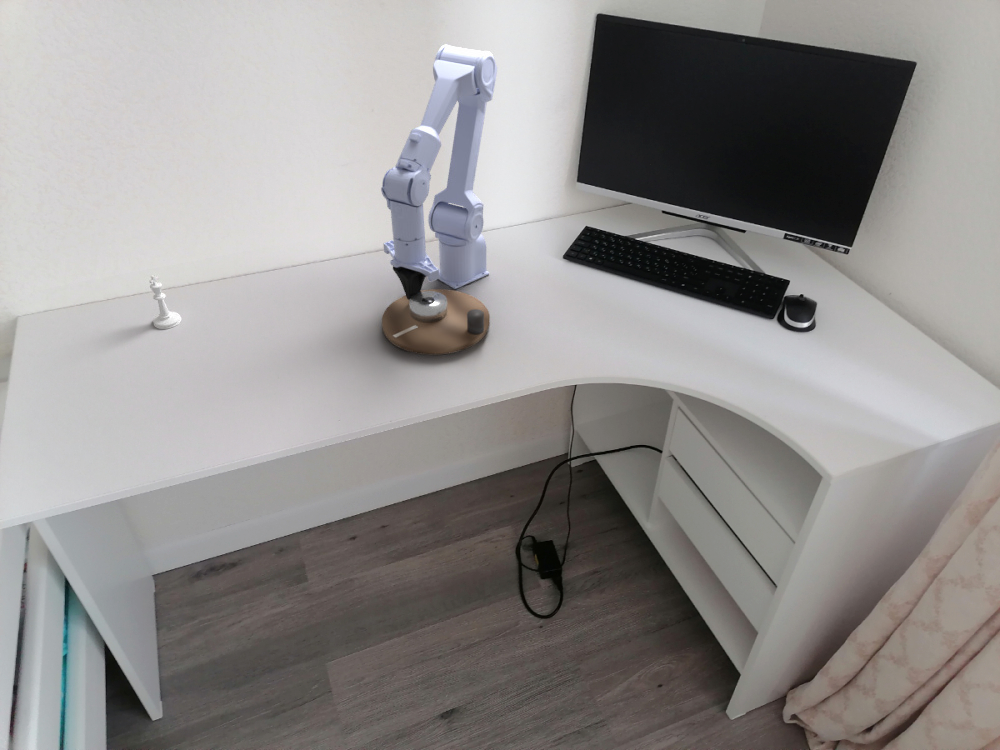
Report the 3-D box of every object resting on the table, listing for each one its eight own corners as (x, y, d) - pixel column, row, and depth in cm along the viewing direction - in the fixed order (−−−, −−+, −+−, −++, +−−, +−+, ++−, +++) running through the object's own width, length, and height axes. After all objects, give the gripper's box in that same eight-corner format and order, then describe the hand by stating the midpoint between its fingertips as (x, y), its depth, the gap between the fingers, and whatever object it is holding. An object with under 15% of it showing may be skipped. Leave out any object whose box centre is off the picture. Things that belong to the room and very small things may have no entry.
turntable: (444, 283, 148) (443, 263, 145) (511, 325, 136) (512, 304, 133) (361, 319, 137) (358, 298, 134) (426, 368, 125) (425, 346, 123)
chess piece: (147, 325, 137) (131, 279, 131) (166, 312, 140) (151, 266, 134) (168, 331, 135) (153, 285, 129) (187, 317, 139) (173, 272, 133)
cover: (431, 298, 141) (431, 286, 139) (455, 313, 137) (454, 301, 135) (402, 311, 137) (401, 299, 136) (425, 327, 133) (424, 315, 132)
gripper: (367, 226, 133) (374, 290, 141) (415, 256, 124) (419, 322, 133) (399, 215, 137) (404, 278, 145) (447, 243, 128) (449, 308, 137)
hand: (413, 298), depth 139 cm, fingers closed
